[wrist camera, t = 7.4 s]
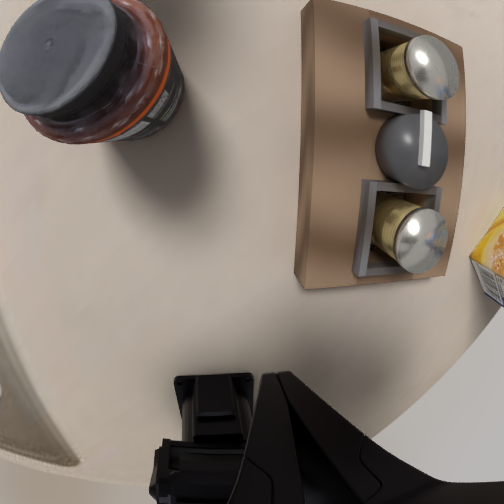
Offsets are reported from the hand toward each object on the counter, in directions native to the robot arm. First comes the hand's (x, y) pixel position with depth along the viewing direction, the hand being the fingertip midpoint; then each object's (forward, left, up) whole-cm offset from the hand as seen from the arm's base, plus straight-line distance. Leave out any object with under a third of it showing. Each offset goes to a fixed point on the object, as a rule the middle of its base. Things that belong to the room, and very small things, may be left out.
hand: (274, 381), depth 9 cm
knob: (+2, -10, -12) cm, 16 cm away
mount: (+7, -10, -12) cm, 17 cm away
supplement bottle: (+10, +6, -12) cm, 17 cm away
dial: (+7, -10, -9) cm, 15 cm away
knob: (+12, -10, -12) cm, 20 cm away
